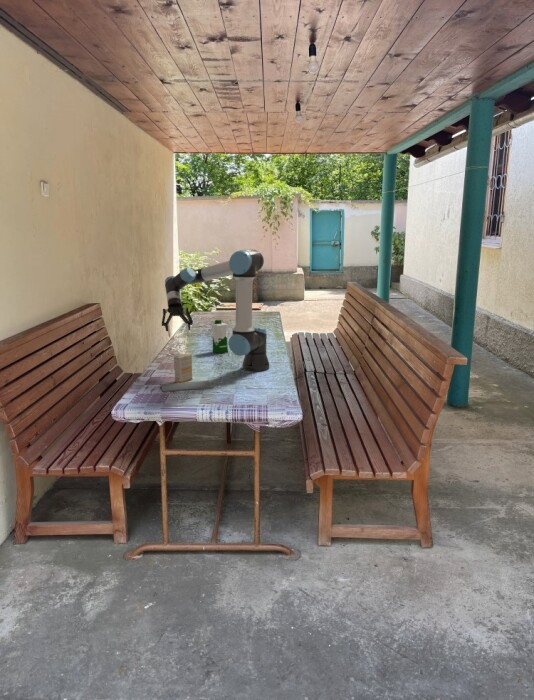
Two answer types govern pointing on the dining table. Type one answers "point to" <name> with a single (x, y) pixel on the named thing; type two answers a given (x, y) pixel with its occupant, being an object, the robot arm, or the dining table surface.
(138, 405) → the dining table surface
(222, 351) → the milk carton
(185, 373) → the supplement box
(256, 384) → the dining table surface
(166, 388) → the rubber mat
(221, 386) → the dining table surface
